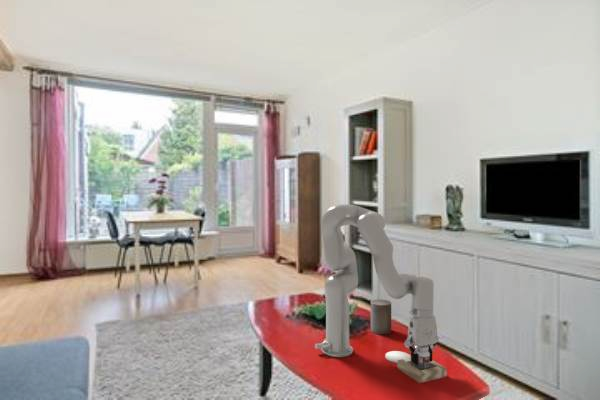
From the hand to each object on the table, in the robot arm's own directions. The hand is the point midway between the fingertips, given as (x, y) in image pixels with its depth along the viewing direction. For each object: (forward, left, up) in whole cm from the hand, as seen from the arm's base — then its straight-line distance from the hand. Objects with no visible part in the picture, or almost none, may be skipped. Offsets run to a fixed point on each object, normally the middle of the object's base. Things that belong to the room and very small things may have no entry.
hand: (421, 361), depth 138 cm
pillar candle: (+11, +40, -4) cm, 42 cm away
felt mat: (0, +13, -4) cm, 14 cm away
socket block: (0, 0, -4) cm, 4 cm away
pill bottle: (0, 0, -4) cm, 4 cm away
